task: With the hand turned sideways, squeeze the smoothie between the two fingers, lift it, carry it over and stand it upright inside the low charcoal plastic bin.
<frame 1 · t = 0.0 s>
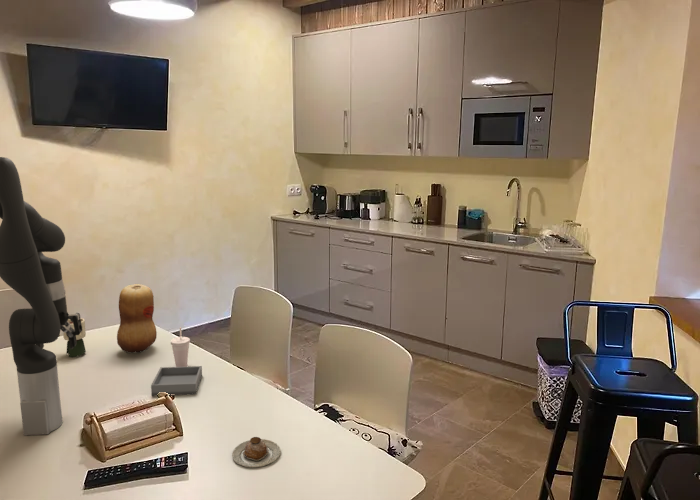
hand: (57, 348, 155), 17 cm above the table, tool pointing down, fingers open, 8 cm apart
bin: (177, 385, 171), on the table
smoothie: (181, 366, 186), on the table
character mug: (76, 355, 193), on the table
butternut squash: (138, 351, 198), on the table
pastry: (256, 457, 135), on the table
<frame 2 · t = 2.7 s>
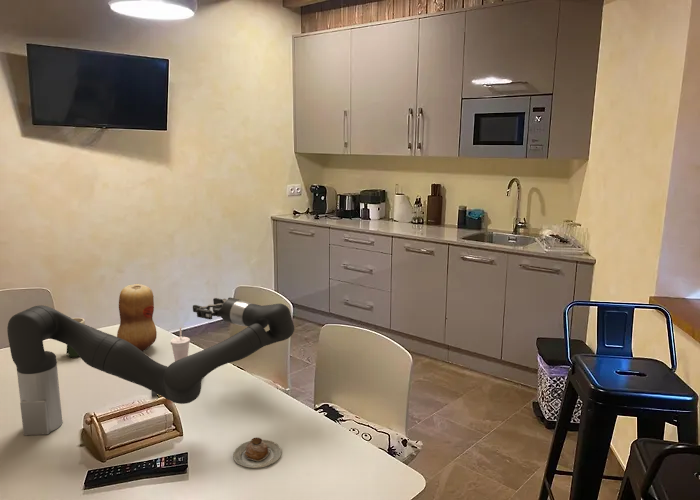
hand: (204, 304, 174), 25 cm above the table, tool horizontal, fingers open, 8 cm apart
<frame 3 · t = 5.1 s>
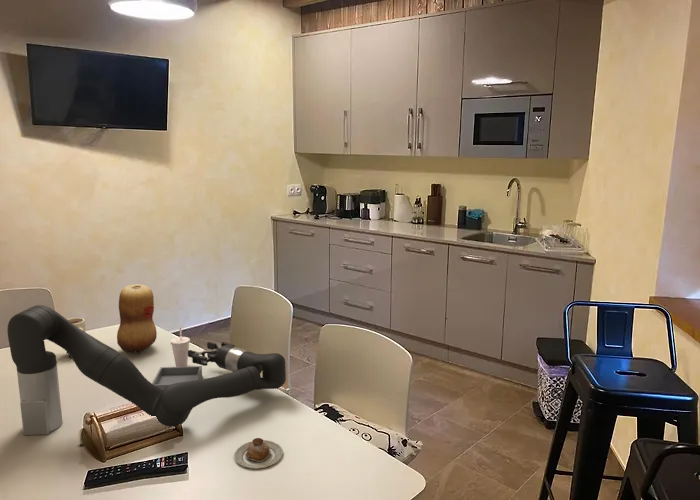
hand: (198, 348, 180), 8 cm above the table, tool horizontal, fingers open, 8 cm apart
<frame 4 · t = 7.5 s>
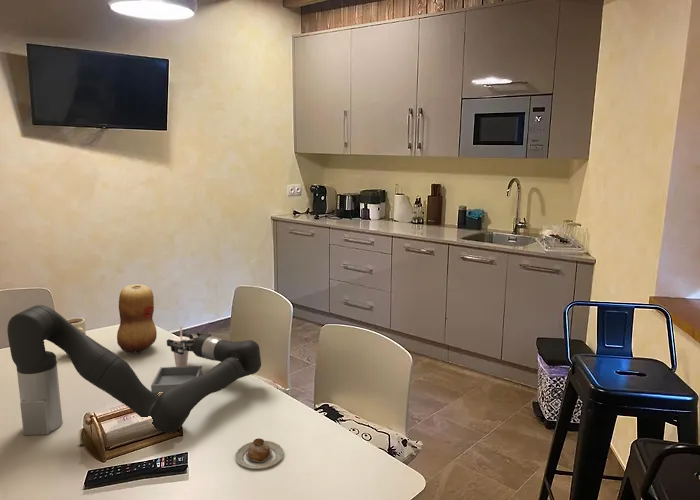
hand: (175, 339, 185), 9 cm above the table, tool horizontal, fingers closed on smoothie, 6 cm apart
smoothie: (181, 366, 186), on the table, touching gripper
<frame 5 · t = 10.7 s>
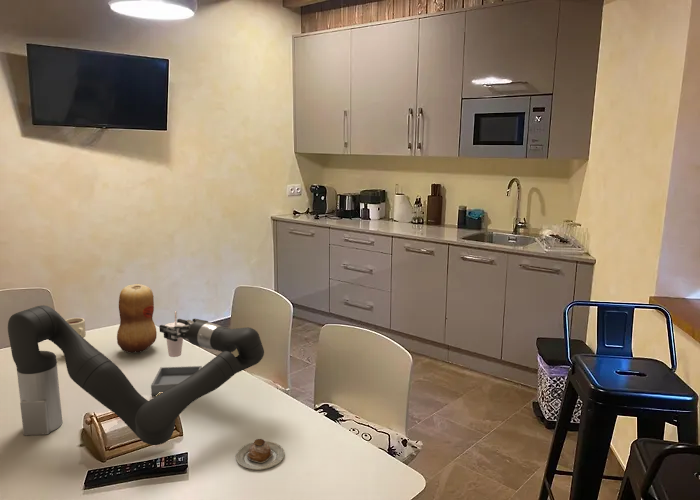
hand: (169, 325, 169), 20 cm above the table, tool horizontal, fingers closed on smoothie, 6 cm apart
smoothie: (174, 355, 169), point 10 cm above the table, touching gripper
when the fingers open (11 cm above the table, at t = 13.9 s): smoothie drops 1 cm, resting on bin.
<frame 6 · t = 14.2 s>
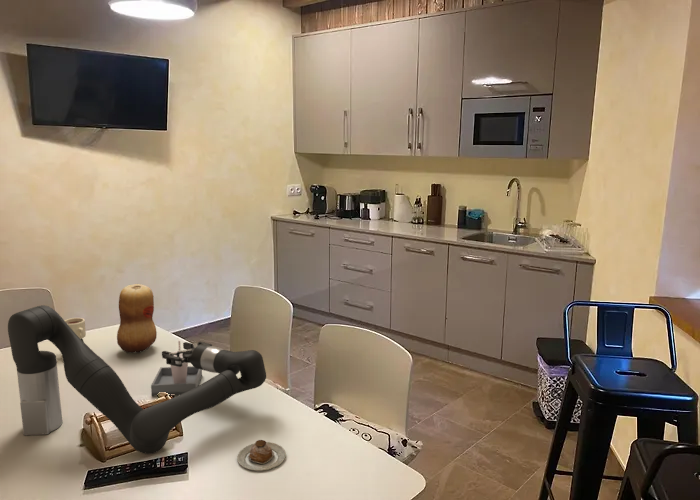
hand: (173, 349, 170), 12 cm above the table, tool horizontal, fingers open, 8 cm apart
smoothie: (179, 383, 170), point 1 cm above the table, touching bin
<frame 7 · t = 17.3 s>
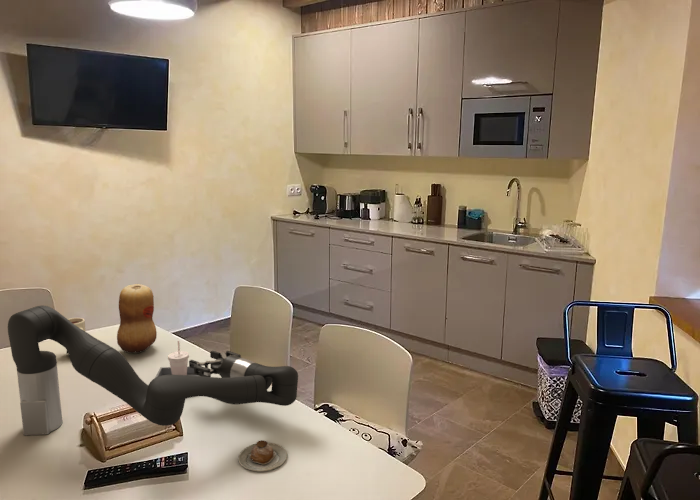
hand: (200, 358, 164), 12 cm above the table, tool horizontal, fingers open, 8 cm apart
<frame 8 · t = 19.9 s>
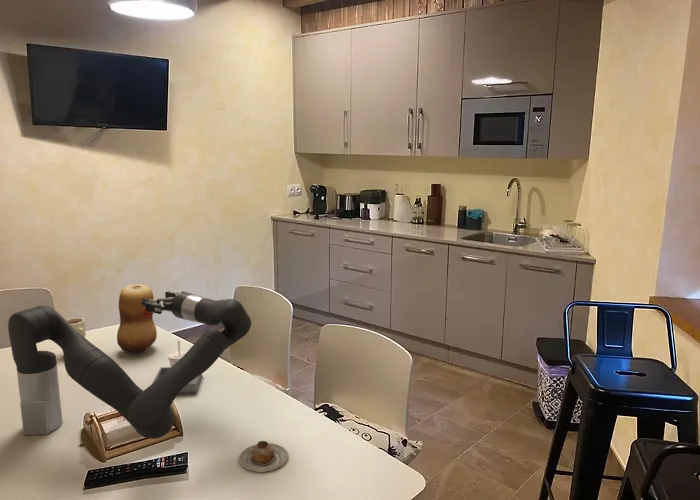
hand: (154, 298, 162), 30 cm above the table, tool horizontal, fingers open, 8 cm apart
at the end: smoothie inside the target area on the bin (1.0 cm from its centre), point 0.8 cm above the bin's base; smoothie tilted 0°; the gripper is holding nothing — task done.
